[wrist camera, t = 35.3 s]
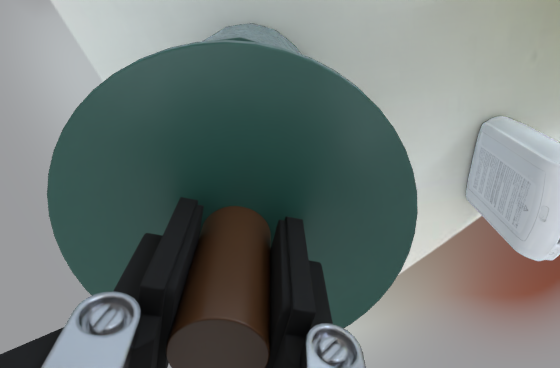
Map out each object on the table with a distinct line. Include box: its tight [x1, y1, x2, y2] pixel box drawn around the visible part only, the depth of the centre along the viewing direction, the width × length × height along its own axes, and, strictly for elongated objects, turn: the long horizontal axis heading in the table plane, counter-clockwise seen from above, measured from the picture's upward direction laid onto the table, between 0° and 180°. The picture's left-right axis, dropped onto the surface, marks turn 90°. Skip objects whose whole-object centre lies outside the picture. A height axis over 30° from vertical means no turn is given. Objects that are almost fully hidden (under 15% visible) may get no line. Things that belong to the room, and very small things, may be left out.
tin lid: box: [47, 40, 417, 368], centre depth 11 cm, size 13×13×6 cm
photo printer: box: [466, 116, 560, 261], centre depth 34 cm, size 10×4×12 cm, turn 3°
